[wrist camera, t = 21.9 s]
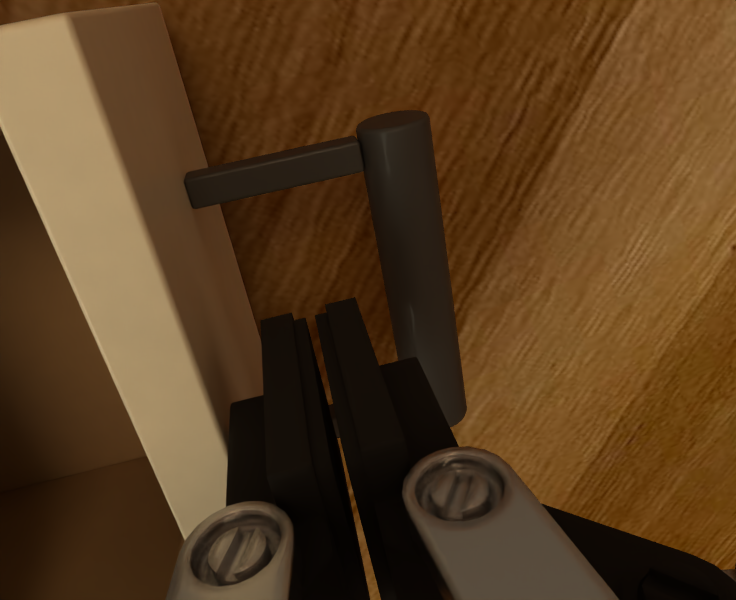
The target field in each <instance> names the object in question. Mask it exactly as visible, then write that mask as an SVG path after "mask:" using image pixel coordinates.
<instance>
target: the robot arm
mask: <svg viewBox="0 0 736 600" xmlns="http://www.w3.org/2000/svg"><path fill="white" fill-rule="evenodd" d="M325 307H326V311H327V313H323V314H318V315H315V319H316V323H317V328H318V333H319V338H320V343H321V347H322V352H323V357H324V362H325V367H326V371H327V376H328V381H329V386H330V391H331V395H332V400H333V405H334V410H335V415H336V419H337V424H338V429H339V434H340V439H341V443H342V448H343V452H344V457H345V461H346V465H347V469H348V473H349V477H350V481H351V485H352V489H353V493H354V497H355V500H356V504H357V508H358V512H359V516H360V520H361V523H362V527H363V531H364V535H365V539H366V543H367V547H368V550H369V554H370V558H371V562H372V566H373V570H374V574H375V577H376V581H377V585H378V589H379V593H380V597H381V600H736V565H735V569H729V570H720V569H719V568H718V567H716V566H715V565H713V564H711V563H709V562H707V561H705V560H703V559H700V558H698V557H696V556H694V555H691V554H688V553H685V552H682V551H680V550H677V549H674V548H671V547H668V546H665V545H662V544H659V543H656V542H653V541H650V540H647V539H644V538H641V537H638V536H635V535H632V534H629V533H626V532H623V531H621V530H618V529H615V528H612V527H609V526H606V525H603V524H600V523H597V522H594V521H591V520H588V519H585V518H582V517H579V516H576V515H573V514H570V513H567V512H564V511H562V510H559V509H556V508H553V507H550V506H547V505H544V504H541V503H540V502H539V501H538V499H537V498H536V497H535V496H534V494H533V493H532V492H531V491H530V489H529V488H528V487H527V486H526V485H525V483H524V482H523V481H522V480H521V478H520V477H519V476H518V475H517V474H516V472H515V471H514V470H513V469H512V467H511V466H510V465H509V464H508V463H506V462H505V461H504V460H503V459H502V458H501V457H500V456H498V455H496V454H493V453H491V452H489V451H487V450H485V449H479V448H474V447H459V446H458V444H457V442H456V439H455V437H454V435H453V433H452V431H451V429H450V427H449V424H448V422H447V420H446V418H445V416H444V414H443V412H442V409H441V407H440V405H439V403H438V401H437V399H436V396H435V394H434V392H433V390H432V388H431V386H430V384H429V381H428V379H427V377H426V375H425V373H424V371H423V369H422V366H421V364H420V362H419V360H418V359H417V357H412V358H408V359H404V360H400V361H396V362H392V363H388V364H384V365H380V366H379V364H378V361H377V359H376V356H375V353H374V350H373V347H372V344H371V342H370V339H369V336H368V333H367V330H366V327H365V324H364V322H363V319H362V316H361V313H360V310H359V307H358V305H357V302H356V299H355V297H354V298H350V299H346V300H342V301H338V302H334V303H329V304H325ZM261 345H262V371H263V395H261V396H257V397H253V398H249V399H245V400H241V401H237V402H233V403H232V404H231V406H230V418H229V441H228V465H227V488H226V507H225V508H223V509H221V510H219V511H217V512H215V513H213V514H211V515H210V516H209V517H207V518H206V519H205V520H204V521H202V522H201V523H200V524H198V525H197V526H196V527H195V529H194V530H193V531H192V532H191V534H190V535H189V536H188V537H187V538H186V540H185V542H184V544H183V546H182V548H181V550H180V553H179V555H178V558H177V562H176V565H175V569H174V572H173V575H172V579H171V582H170V585H169V589H168V592H167V596H166V599H165V600H370V596H369V591H368V586H367V581H366V576H365V571H364V566H363V561H362V556H361V552H360V547H359V542H358V537H357V532H356V527H355V522H354V517H353V512H352V507H351V502H350V497H349V492H348V487H347V482H346V477H345V472H344V467H343V462H342V457H341V453H340V448H339V444H338V440H337V436H336V432H335V428H334V424H333V421H332V417H331V413H330V409H329V405H328V402H327V398H326V394H325V390H324V386H323V382H322V379H321V375H320V371H319V367H318V363H317V359H316V356H315V352H314V348H313V344H312V340H311V337H310V333H309V329H308V325H307V322H306V318H302V319H298V320H294V318H293V315H292V313H288V314H284V315H280V316H276V317H272V318H268V319H264V320H261Z"/></svg>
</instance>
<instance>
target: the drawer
mask: <svg viewBox="0 0 736 600" xmlns="http://www.w3.org/2000/svg"><path fill="white" fill-rule="evenodd" d="M356 134H357V139H358V140H357V139H356V137H355V136H349V137H344V138H340V139H335V140H331V141H326V142H321V143H317V144H312V145H308V146H303V147H299V148H294V149H290V150H285V151H280V152H276V153H271V154H267V155H262V156H258V157H253V158H249V159H244V160H239V161H235V162H230V163H226V164H221V165H217V166H212V167H208V164H207V161H206V157H205V154H204V151H203V147H202V144H201V141H200V137H199V134H198V131H197V128H196V124H195V121H194V118H193V114H192V111H191V108H190V104H189V101H188V98H187V94H186V91H185V88H184V84H183V81H182V78H181V74H180V71H179V68H178V64H177V61H176V58H175V55H174V51H173V48H172V45H171V41H170V38H169V35H168V31H167V28H166V25H165V21H164V18H163V15H162V11H161V8H160V6H159V4H158V3H155V2H154V3H145V4H137V5H128V6H119V7H110V8H102V9H93V10H84V11H75V12H67V13H59V14H54V15H49V16H44V17H39V18H34V19H29V20H24V21H19V22H14V23H9V24H4V25H0V600H165V599H166V596H167V592H168V589H169V585H170V582H171V579H172V575H173V572H174V569H175V565H176V562H177V558H178V555H179V553H180V550H181V548H182V546H183V544H184V542H185V540H186V538H187V537H188V536H189V535H190V534H191V532H192V531H193V530H194V529H195V527H196V526H197V525H198V524H200V523H201V522H202V521H204V520H205V519H206V518H207V517H209V516H210V515H211V514H213V513H215V512H217V511H219V510H221V509H223V508H225V507H226V488H227V465H228V441H229V418H230V406H231V404H232V403H233V402H237V401H241V400H245V399H249V398H253V397H257V396H261V395H263V371H262V345H261V340H260V336H259V333H258V330H257V327H256V323H255V320H254V317H253V313H252V310H251V307H250V303H249V300H248V297H247V293H246V290H245V287H244V283H243V280H242V277H241V273H240V270H239V267H238V263H237V260H236V257H235V254H234V250H233V247H232V244H231V240H230V237H229V234H228V230H227V227H226V224H225V220H224V217H223V214H222V210H221V207H220V204H221V203H226V202H230V201H235V200H239V199H244V198H248V197H253V196H257V195H262V194H266V193H271V192H275V191H280V190H284V189H288V188H293V187H297V186H302V185H306V184H311V183H315V182H320V181H324V180H329V179H333V178H338V177H342V176H347V175H351V174H355V173H360V172H364V177H365V183H366V188H367V193H368V199H369V204H370V210H371V215H372V221H373V226H374V231H375V237H376V242H377V248H378V253H379V259H380V264H381V269H382V275H383V280H384V286H385V291H386V297H387V302H388V307H389V313H390V318H391V324H392V329H393V334H394V340H395V345H396V351H397V356H398V361H400V360H404V359H408V358H412V357H417V359H418V360H419V362H420V364H421V366H422V369H423V371H424V373H425V375H426V377H427V379H428V381H429V384H430V386H431V388H432V390H433V392H434V394H435V396H436V399H437V401H438V403H439V405H440V407H441V409H442V412H443V414H444V416H445V418H446V420H447V422H448V424H449V427H453V426H454V425H456V424H458V423H459V422H460V421H461V420H462V419H463V418H464V416H465V413H466V410H467V405H466V398H465V390H464V382H463V374H462V367H461V359H460V351H459V343H458V336H457V328H456V320H455V312H454V304H453V297H452V289H451V281H450V273H449V266H448V258H447V250H446V242H445V234H444V227H443V219H442V211H441V203H440V196H439V188H438V180H437V172H436V164H435V157H434V149H433V141H432V133H431V126H430V118H429V116H428V114H427V113H426V112H423V111H417V110H405V111H396V112H390V113H385V114H381V115H377V116H374V117H371V118H368V119H366V120H364V121H362V122H361V123H359V124H358V125H357V128H356ZM329 409H330V413H331V417H332V421H333V424H334V428H335V432H336V436H337V438H340V434H339V429H338V424H337V419H336V415H335V410H334V405H333V404H331V405H329Z"/></svg>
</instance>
